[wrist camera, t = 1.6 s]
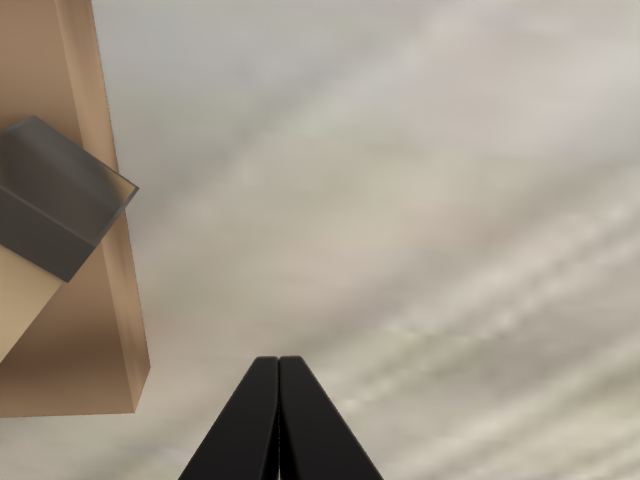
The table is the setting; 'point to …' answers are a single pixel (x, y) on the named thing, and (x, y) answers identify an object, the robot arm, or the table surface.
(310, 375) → the robot arm
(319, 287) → the table surface
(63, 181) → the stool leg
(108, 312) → the brown wooden block
